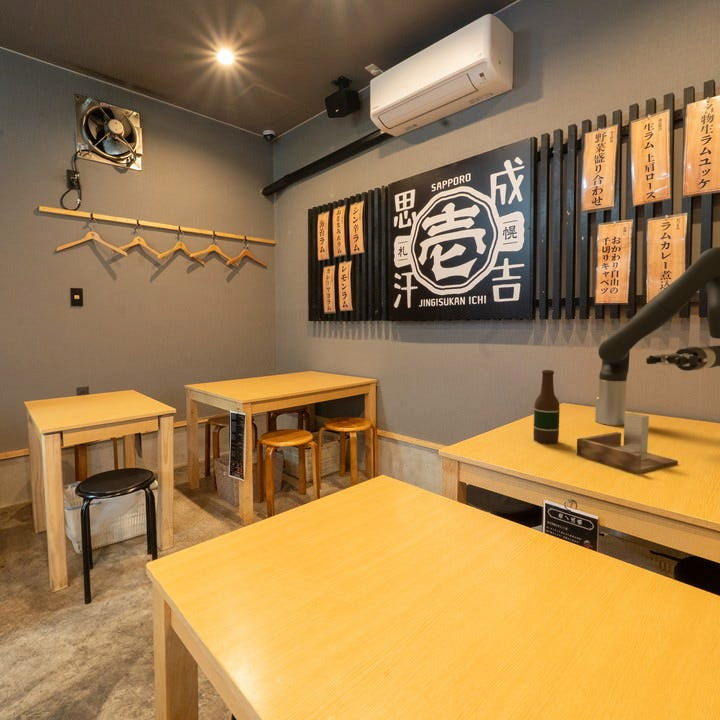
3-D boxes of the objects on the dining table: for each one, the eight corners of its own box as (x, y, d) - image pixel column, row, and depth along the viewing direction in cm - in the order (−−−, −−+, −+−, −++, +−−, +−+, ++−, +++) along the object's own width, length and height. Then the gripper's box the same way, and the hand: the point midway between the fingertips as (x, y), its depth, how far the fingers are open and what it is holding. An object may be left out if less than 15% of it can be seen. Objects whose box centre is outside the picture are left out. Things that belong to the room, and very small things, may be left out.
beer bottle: (557, 439, 146) (559, 369, 144) (559, 445, 139) (562, 371, 137) (532, 437, 149) (534, 368, 147) (534, 443, 141) (536, 371, 139)
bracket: (629, 452, 127) (631, 412, 126) (646, 457, 123) (649, 416, 122) (609, 456, 123) (611, 415, 122) (626, 461, 119) (628, 419, 118)
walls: (576, 451, 129) (577, 438, 128) (616, 444, 136) (616, 432, 136) (636, 470, 112) (637, 455, 112) (677, 460, 120) (678, 446, 119)
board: (576, 455, 129) (576, 451, 128) (616, 447, 136) (616, 444, 136) (636, 474, 112) (636, 470, 112) (677, 464, 120) (677, 460, 120)
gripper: (671, 346, 143) (638, 348, 137) (720, 346, 130) (687, 349, 124) (671, 368, 144) (638, 372, 138) (720, 371, 131) (687, 374, 124)
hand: (661, 361), depth 131 cm, fingers open, 8 cm apart
